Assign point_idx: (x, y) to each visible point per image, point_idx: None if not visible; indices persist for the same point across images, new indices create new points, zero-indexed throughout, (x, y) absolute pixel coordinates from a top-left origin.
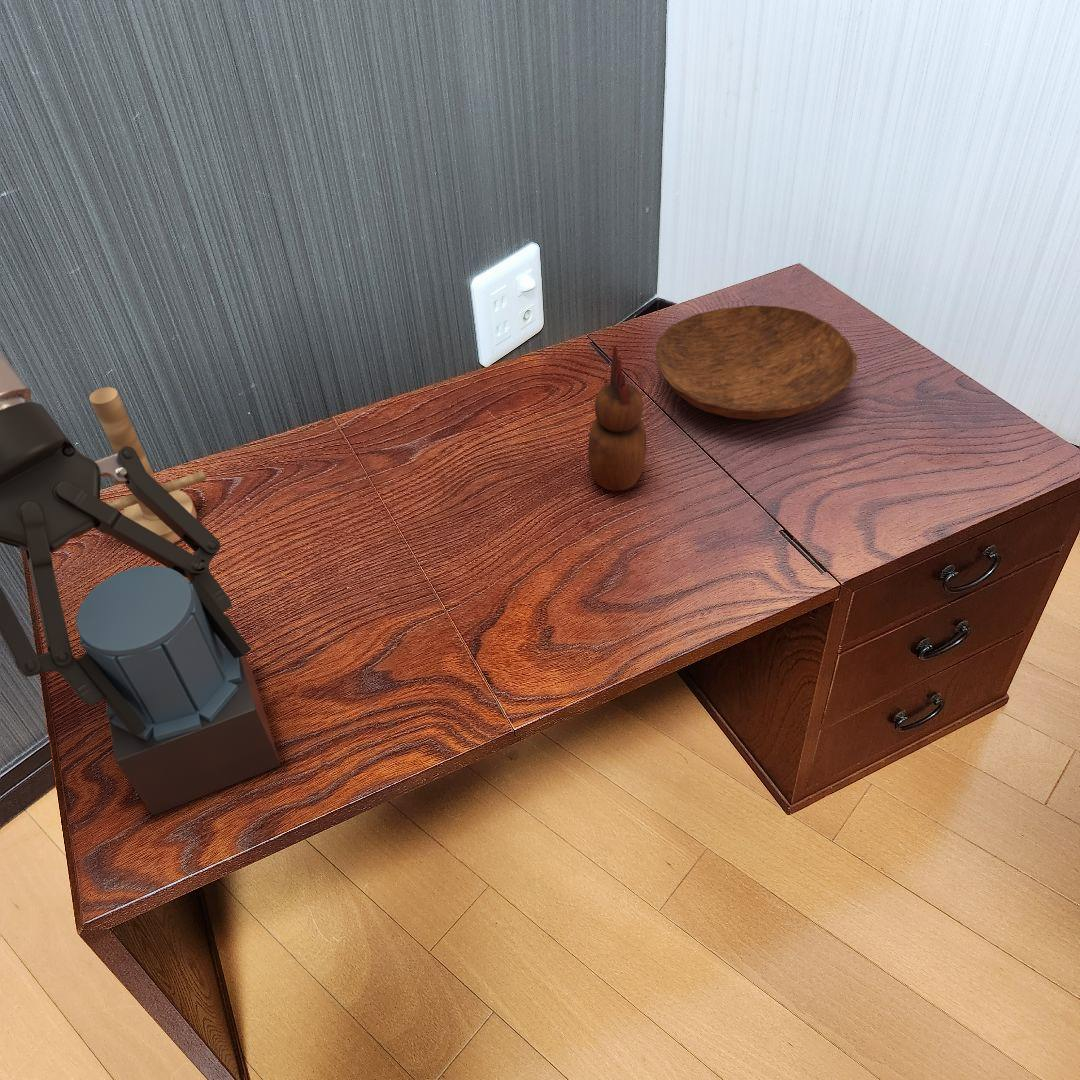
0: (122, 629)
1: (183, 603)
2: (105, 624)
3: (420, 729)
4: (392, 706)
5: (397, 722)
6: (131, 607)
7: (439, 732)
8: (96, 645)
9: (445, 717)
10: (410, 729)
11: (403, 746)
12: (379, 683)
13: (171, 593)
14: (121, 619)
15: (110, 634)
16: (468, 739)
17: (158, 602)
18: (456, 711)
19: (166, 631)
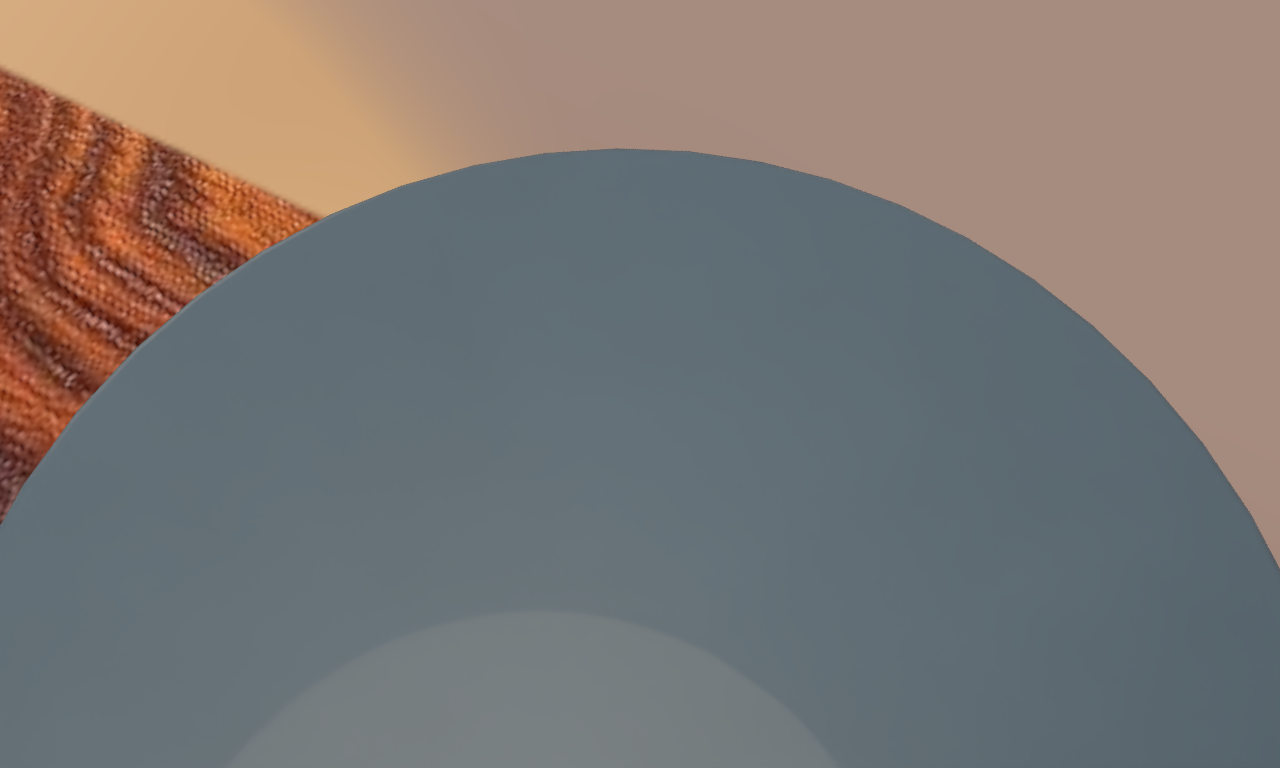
0: (949, 521)
1: (308, 292)
2: (1053, 765)
3: (125, 265)
4: (80, 395)
5: (135, 340)
6: (692, 713)
7: (107, 213)
8: (1267, 566)
9: (43, 230)
10: (140, 290)
11: (211, 269)
12: (3, 501)
13: (263, 494)
14: (880, 654)
15: (1083, 567)
16: (90, 134)
17: (445, 515)
18: (4, 216)
19: (662, 164)
